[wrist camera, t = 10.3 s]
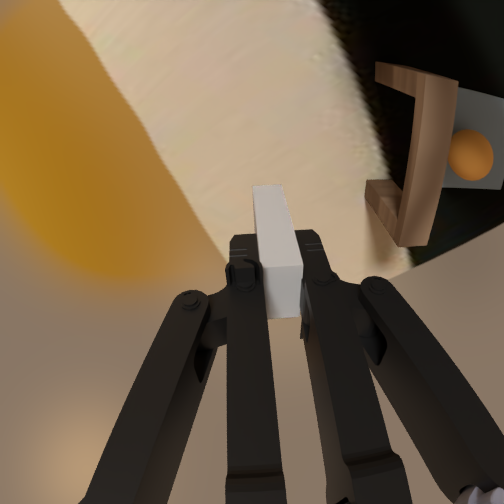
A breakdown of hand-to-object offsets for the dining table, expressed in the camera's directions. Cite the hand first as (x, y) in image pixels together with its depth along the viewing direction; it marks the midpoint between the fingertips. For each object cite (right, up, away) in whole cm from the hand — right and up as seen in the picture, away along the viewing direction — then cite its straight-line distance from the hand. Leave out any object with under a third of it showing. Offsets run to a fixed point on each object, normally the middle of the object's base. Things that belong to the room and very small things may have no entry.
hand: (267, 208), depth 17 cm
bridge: (+12, +10, +12) cm, 19 cm away
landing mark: (+25, +10, +12) cm, 30 cm away
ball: (+22, +8, +10) cm, 25 cm away
